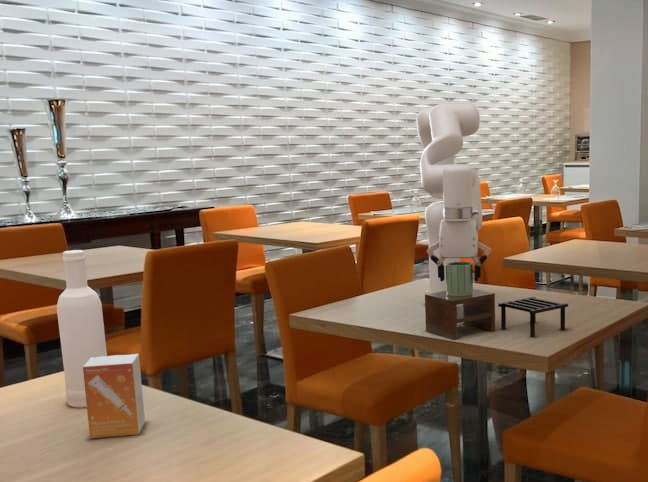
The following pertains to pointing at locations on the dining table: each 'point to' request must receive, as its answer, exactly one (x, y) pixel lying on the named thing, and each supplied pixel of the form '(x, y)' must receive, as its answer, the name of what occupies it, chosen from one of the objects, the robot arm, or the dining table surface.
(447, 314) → the shelf
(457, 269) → the cup
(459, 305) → the robot arm
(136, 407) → the small box
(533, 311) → the rack
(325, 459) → the dining table surface
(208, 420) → the dining table surface
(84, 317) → the bottle
